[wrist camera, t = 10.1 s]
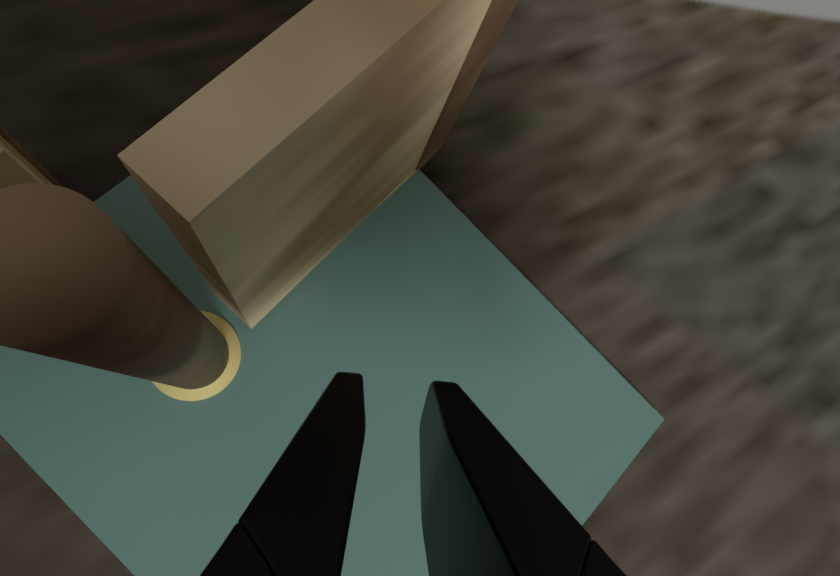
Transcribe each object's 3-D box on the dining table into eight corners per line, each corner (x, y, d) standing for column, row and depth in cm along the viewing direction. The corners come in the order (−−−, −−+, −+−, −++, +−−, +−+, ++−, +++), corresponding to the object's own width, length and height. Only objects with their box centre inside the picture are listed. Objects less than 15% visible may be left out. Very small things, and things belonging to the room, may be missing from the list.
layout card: (658, 419, 18) (666, 419, 18) (358, 803, 14) (359, 815, 14) (302, 55, 18) (302, 48, 18) (-85, 339, 14) (-95, 336, 14)
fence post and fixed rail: (12, 224, 16) (-458, -87, 6) (68, 181, 16) (-279, -167, 6) (193, 404, 15) (16, 383, 6) (245, 356, 16) (157, 264, 6)
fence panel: (254, 331, 16) (186, 213, 7) (216, 296, 16) (96, 129, 7) (443, 146, 18) (586, -131, 9) (409, 115, 18) (519, -192, 9)
